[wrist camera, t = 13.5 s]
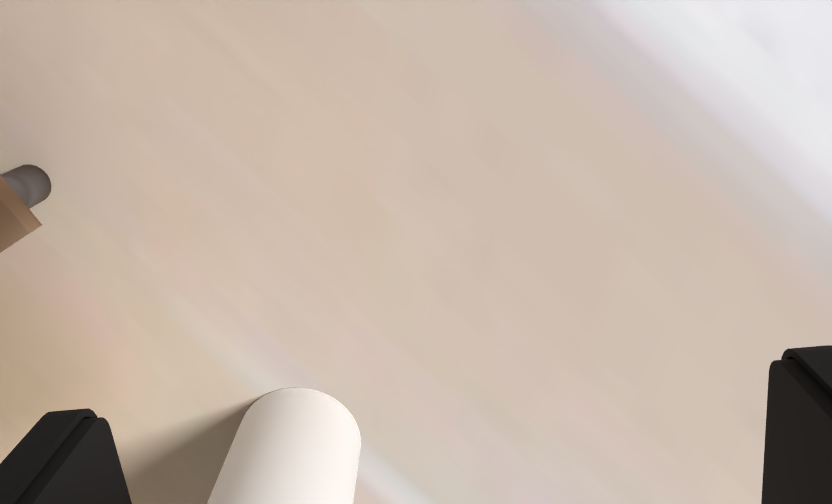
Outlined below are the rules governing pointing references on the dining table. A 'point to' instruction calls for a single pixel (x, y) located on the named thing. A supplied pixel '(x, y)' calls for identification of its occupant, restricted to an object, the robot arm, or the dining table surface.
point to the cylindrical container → (291, 452)
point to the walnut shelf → (20, 202)
